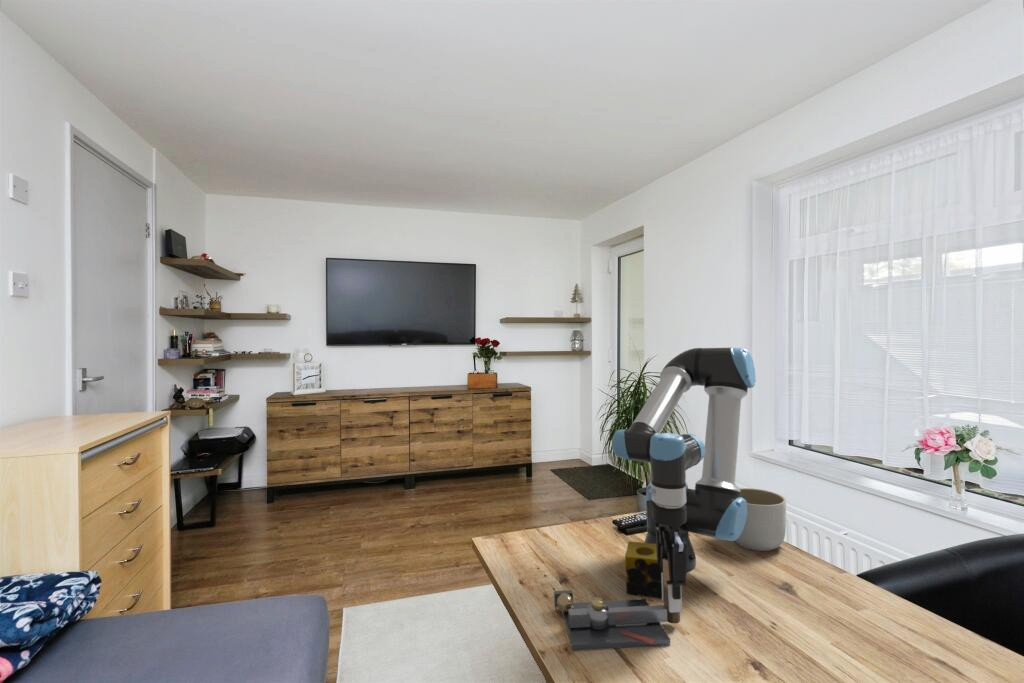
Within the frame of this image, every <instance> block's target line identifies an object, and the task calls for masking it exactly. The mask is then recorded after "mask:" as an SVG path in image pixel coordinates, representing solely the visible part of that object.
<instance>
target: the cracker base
mask: <svg viewBox="0 0 1024 683" xmlns="http://www.w3.org/2000/svg"><path fill="white" fill-rule="evenodd" d="M573 595H574V592H573V590H572V589H569V590H568V589H566V590H554V591H553V602H554V607H555V608H558V610H559V611H560V612H562V616H563V619H564V624H565V627H566V632H567V634H568V638H569V639H568V640H569V643H570V646H571V649H572V651H573V652H574V651H588V650H589V651H591V650H593V651H594V650H607V649H608V650H609V649H610V650H611V649H625V648H627V649H628V648H642V647H643V648H645V647H646V648H647V647H658V646H659V647H661V646H662V647H663V646H671V639H670V637H669V635H668V633H667V632H666V630H665V628H664V627H663V625H662V623H661V622H654V623H636V624H618V625H609V626H608V627H607V628H605V629H601V630H598V629H593V628H591V627H578V628H570V624H569V614H568V609H582V608H587V606H588V605H589V604H590V603H592V608H593V609H595V610H601V609H603V608H604V605H603V604H605V605H607V606H608V608H615V607H634V606H650V604H649V602H648V601H647V599H646V598H638V599H619V600H616V599H615V600H604V599H603V598H601V597H599V596H597V597H593V598H591V601H581V602H574V596H573Z"/></svg>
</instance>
